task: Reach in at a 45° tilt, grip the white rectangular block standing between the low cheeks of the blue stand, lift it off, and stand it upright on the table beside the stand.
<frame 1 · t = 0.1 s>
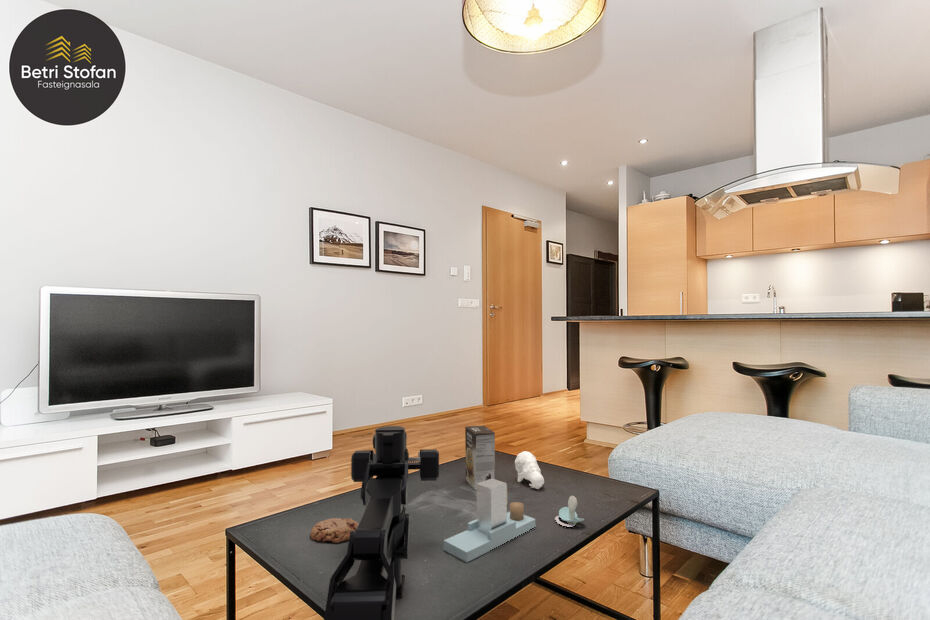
hand: (399, 454, 109), 17 cm above the table, tool horizontal, fingers open, 9 cm apart
cookie: (335, 536, 105), on the table
white rectangular block: (491, 529, 102), point 2 cm above the table, touching blue stand
white animal figurine: (531, 485, 136), on the table
coffee box: (479, 484, 136), on the table
pacifier: (568, 524, 110), on the table
blue stand: (491, 538, 102), on the table
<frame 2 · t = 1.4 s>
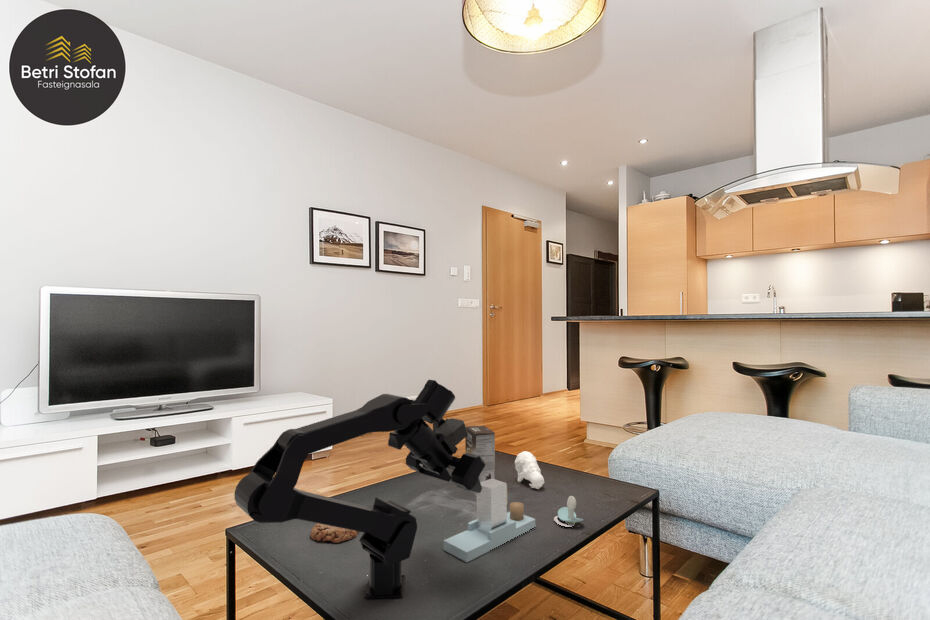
hand: (464, 485, 97), 14 cm above the table, tool tilted 45°, fingers open, 9 cm apart
nothing on the table moved.
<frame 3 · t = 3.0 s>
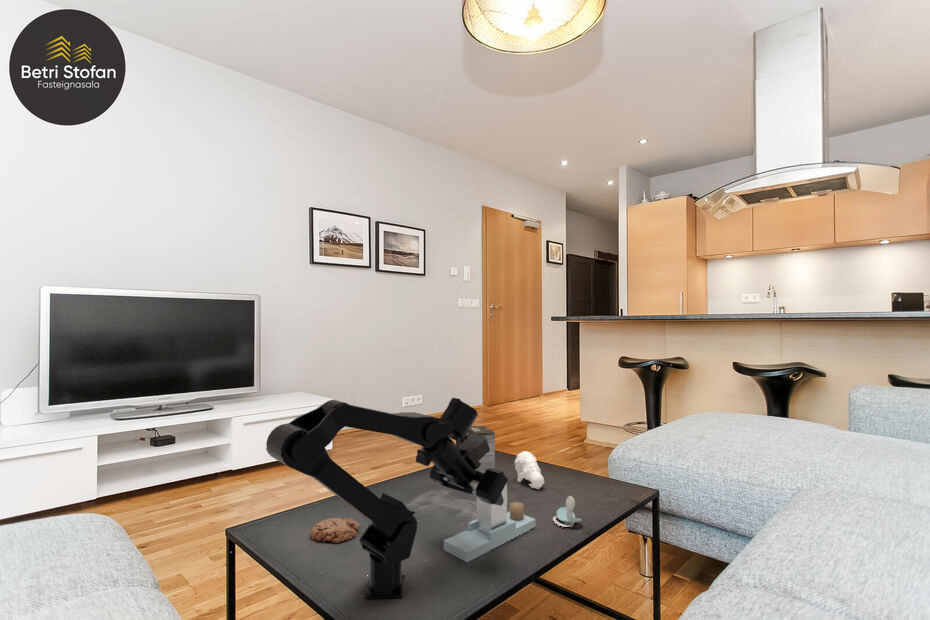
hand: (486, 497, 101), 9 cm above the table, tool tilted 45°, fingers open, 9 cm apart
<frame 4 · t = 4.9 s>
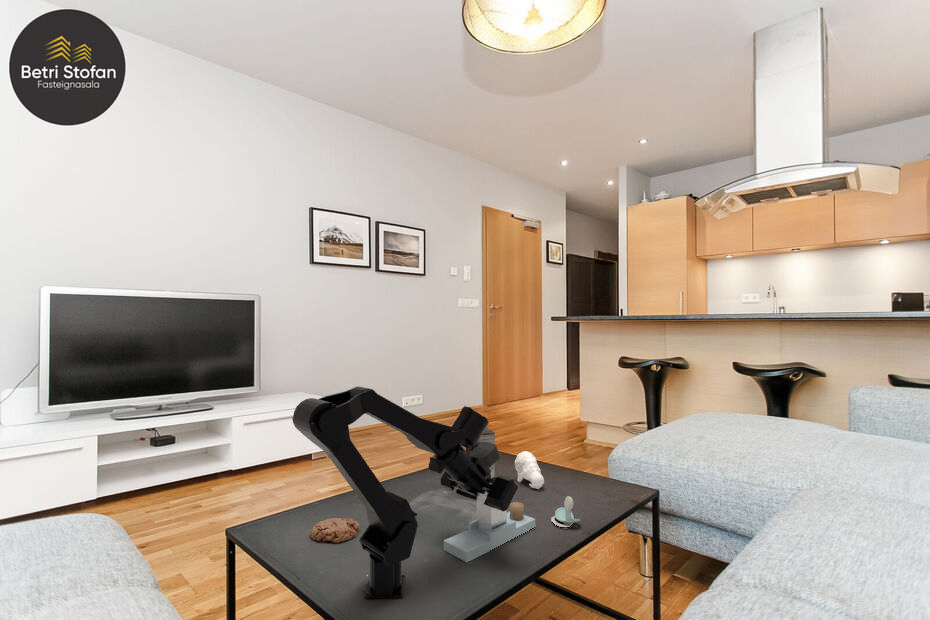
hand: (495, 504, 103), 7 cm above the table, tool tilted 45°, fingers closed on white rectangular block, 4 cm apart
white rectangular block: (491, 529, 102), point 2 cm above the table, touching gripper, blue stand
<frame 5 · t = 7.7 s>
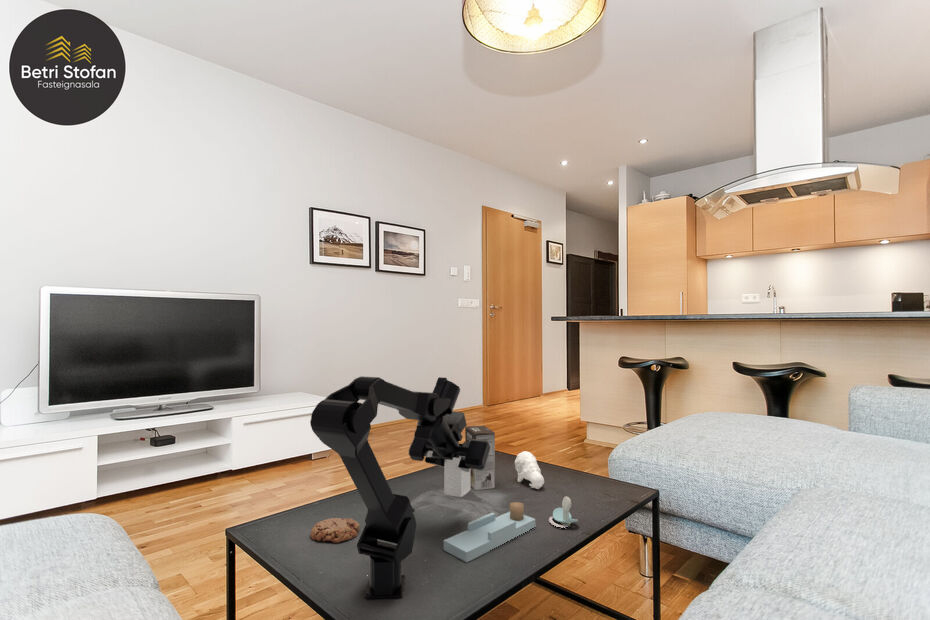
hand: (460, 468, 111), 13 cm above the table, tool tilted 45°, fingers closed on white rectangular block, 4 cm apart
white rectangular block: (457, 492, 110), point 7 cm above the table, touching gripper
when the fingers open (6 cm above the table, at t = 10.5 s): white rectangular block drops 1 cm, on the table.
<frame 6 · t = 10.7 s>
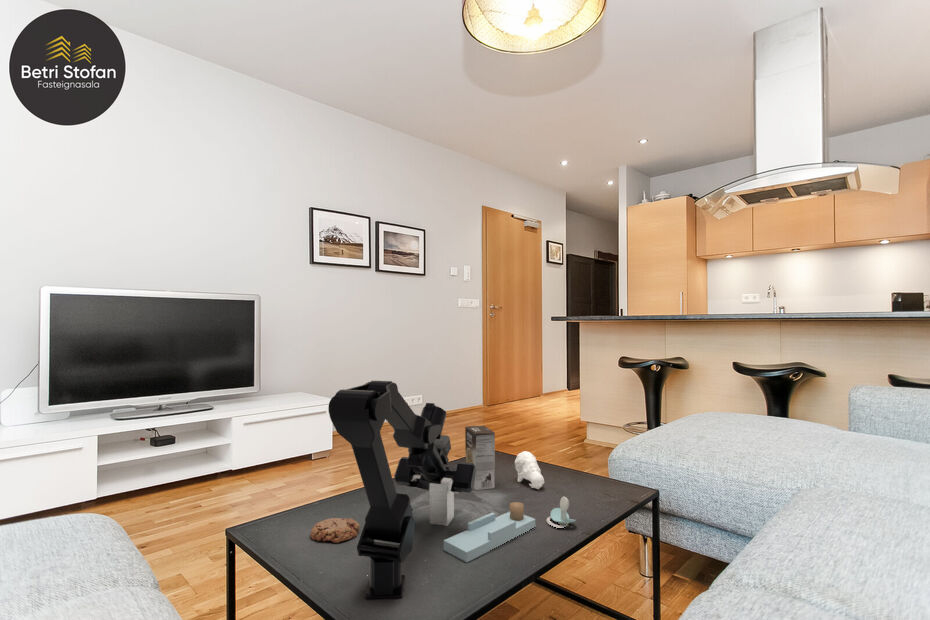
hand: (443, 490, 113), 7 cm above the table, tool tilted 45°, fingers open, 7 cm apart
white rectangular block: (442, 520, 112), on the table
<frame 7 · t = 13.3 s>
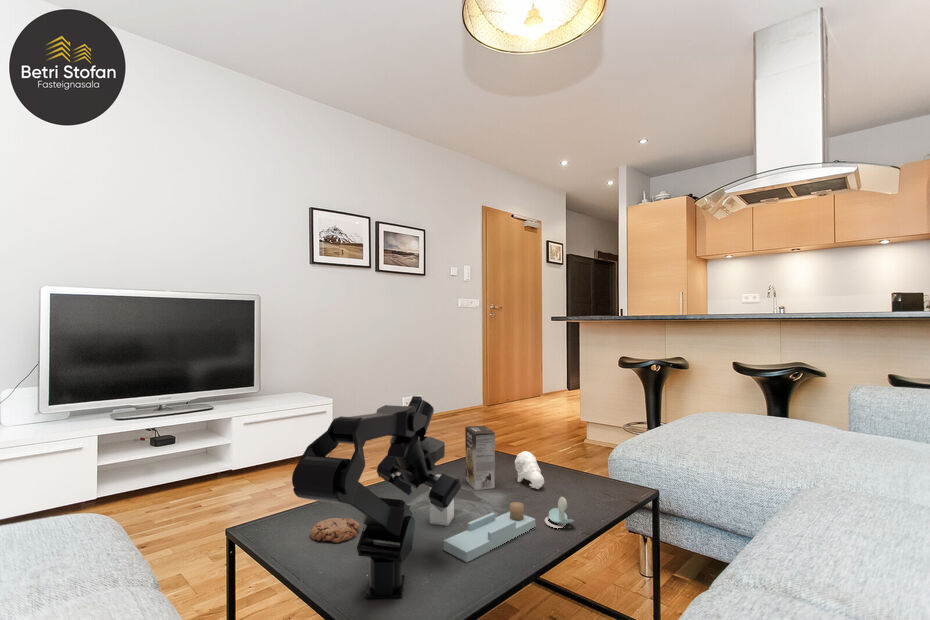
hand: (425, 501, 103), 8 cm above the table, tool tilted 35°, fingers open, 9 cm apart
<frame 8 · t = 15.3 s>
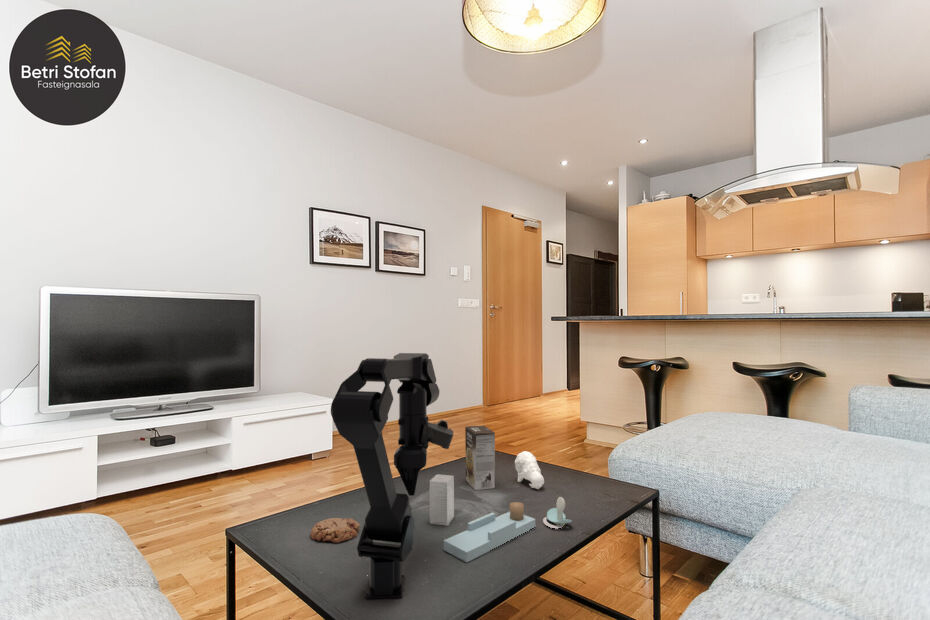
hand: (413, 487, 98), 13 cm above the table, tool pointing down, fingers open, 9 cm apart
at the end: white rectangular block inside the target area (0.0 cm from its centre), on the table; white rectangular block tilted 0°; the gripper is holding nothing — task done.
